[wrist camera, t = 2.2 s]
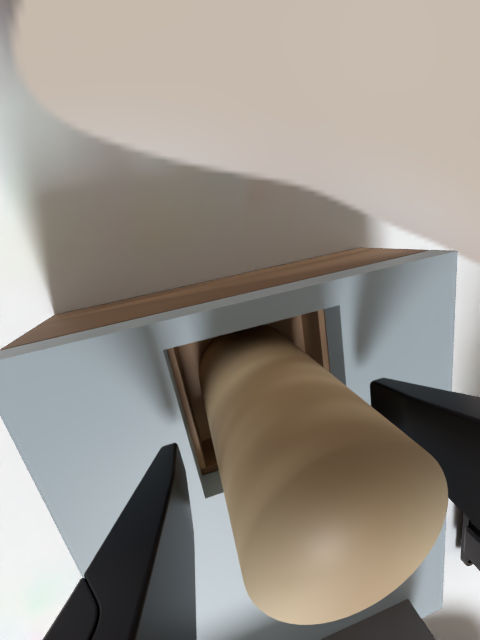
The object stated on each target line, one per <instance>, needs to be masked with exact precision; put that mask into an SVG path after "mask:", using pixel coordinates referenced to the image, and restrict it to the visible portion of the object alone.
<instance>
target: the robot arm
mask: <svg viewBox="0 0 480 640" xmlns="http://www.w3.org/2000/svg"><path fill="white" fill-rule="evenodd" d="M370 400H371V407H373V408H374V409H375V410H376V411H378V412H379V413H380V414H381V415H383V416H384V417H385V418H386V419H388V420H389V421H390V422H391V423H392V424H394V425H395V426H396V427H397V428H399V429H400V430H401V431H402V432H404V433H405V434H406V435H407V436H408V437H410V438H411V439H412V440H413V441H415V442H416V443H417V444H418V445H420V446H421V447H422V448H423V449H424V450H426V451H427V452H428V453H429V454H431V455H432V456H433V458H434V459H435V460H436V461H437V462H438V464H439V465H440V467H441V468H442V470H443V473H444V475H445V478H446V482H447V487H448V498H449V499H450V500H451V501H452V502H453V503H454V504H455V505H456V506H457V507H458V508H459V509H460V510H461V511H462V512H463V513H464V514H463V529H462V544H461V560H462V561H463V562H464V563H465V564H466V565H467V566H470V565H472V564H474V565H475V566H476V567H477V568H478V569H479V570H480V397H475V396H471V395H466V394H461V393H456V392H451V391H446V390H442V389H437V388H432V387H427V386H422V385H418V384H413V383H408V382H403V381H398V380H393V379H389V378H380V379H376V380H373V381H372V382H371V383H370ZM43 640H197V629H196V587H195V544H194V529H193V520H192V513H191V505H190V498H189V491H188V483H187V476H186V470H185V466H184V463H183V460H182V456H181V453H180V450H179V446H178V444H177V443H171V444H168V445H165V446H162V447H161V448H160V450H159V452H158V453H157V455H156V456H155V458H154V460H153V461H152V463H151V465H150V466H149V468H148V470H147V471H146V473H145V475H144V476H143V478H142V479H141V481H140V483H139V484H138V486H137V488H136V489H135V491H134V493H133V494H132V496H131V497H130V499H129V501H128V502H127V504H126V506H125V507H124V509H123V511H122V512H121V514H120V516H119V517H118V519H117V520H116V522H115V524H114V525H113V527H112V529H111V530H110V532H109V534H108V535H107V537H106V539H105V540H104V542H103V543H102V545H101V547H100V548H99V550H98V552H97V553H96V555H95V557H94V558H93V560H92V561H91V563H90V565H89V566H88V568H87V570H86V571H85V573H84V578H81V579H80V581H79V583H78V584H77V586H76V587H75V589H74V591H73V592H72V594H71V596H70V597H69V599H68V601H67V602H66V604H65V605H64V607H63V608H62V610H61V612H60V613H59V615H58V616H57V618H56V619H55V621H54V623H53V624H52V626H51V627H50V629H49V630H48V632H47V634H46V635H45V637H44V638H43Z"/></svg>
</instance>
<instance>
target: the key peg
mask: <svg viewBox="0 0 480 640" xmlns="http://www.w3.org/2000/svg"><path fill="white" fill-rule="evenodd" d="M199 382H200V387H201V391H202V396H203V401H204V405H205V410H206V414H207V419H208V423H209V428H210V432H211V437H212V441H213V446H214V450H215V455H216V459H217V464H218V469H219V473H220V478H221V482H222V487H223V491H224V496H225V500H226V505H227V509H228V514H229V518H230V523H231V527H232V532H233V537H234V541H235V546H236V550H237V555H238V559H239V564H240V568H241V573H242V577H243V582H244V585H245V588H246V591H247V593H248V595H249V597H250V599H251V600H252V602H253V603H254V604H255V605H256V606H257V607H258V608H259V609H260V610H261V611H262V612H264V613H265V614H266V615H268V616H270V617H272V618H274V619H276V620H278V621H282V622H286V623H290V624H298V625H313V624H322V623H327V622H332V621H336V620H339V619H342V618H345V617H348V616H351V615H353V614H356V613H358V612H360V611H362V610H364V609H366V608H368V607H370V606H372V605H373V604H375V603H377V602H378V601H380V600H382V599H383V598H384V597H386V596H387V595H389V594H390V593H391V592H393V591H394V590H395V589H396V588H398V587H399V586H400V585H401V584H402V583H403V582H404V581H405V580H406V579H407V578H408V577H409V576H410V575H412V574H413V572H414V571H415V570H416V569H417V568H418V567H419V565H420V564H421V563H422V562H423V560H424V559H425V558H426V556H427V555H428V554H429V552H430V550H431V549H432V547H433V545H434V544H435V542H436V540H437V538H438V536H439V534H440V532H441V529H442V526H443V523H444V520H445V516H446V512H447V506H448V487H447V482H446V478H445V475H444V473H443V470H442V468H441V467H440V465H439V464H438V462H437V461H436V460H435V459H434V458H433V456H432V455H431V454H429V453H428V452H427V451H426V450H424V449H423V448H422V447H421V446H420V445H418V444H417V443H416V442H415V441H413V440H412V439H411V438H410V437H408V436H407V435H406V434H405V433H404V432H402V431H401V430H400V429H399V428H397V427H396V426H395V425H394V424H392V423H391V422H390V421H389V420H388V419H386V418H385V417H384V416H383V415H381V414H380V413H379V412H378V411H376V410H375V409H374V408H373V407H371V406H370V405H369V404H368V403H367V402H365V401H364V400H363V399H362V398H360V397H359V396H358V395H357V394H355V393H354V392H353V391H352V390H351V389H349V388H348V387H347V386H346V385H344V384H343V383H342V382H341V381H339V380H338V379H337V378H336V377H334V376H333V375H332V374H331V373H330V372H328V371H327V370H326V369H325V368H323V367H322V366H321V365H320V364H318V363H317V362H316V361H315V360H314V359H312V358H311V357H310V356H309V355H307V354H306V353H305V352H304V351H302V350H301V349H300V348H299V347H298V346H296V345H295V344H294V343H293V342H291V341H290V340H289V339H288V338H286V337H285V336H284V335H283V334H281V333H280V332H279V331H277V330H276V329H274V328H272V327H270V326H267V325H259V326H256V327H252V328H248V329H244V330H240V331H236V332H232V333H228V334H224V335H220V336H217V337H216V338H215V339H214V340H213V341H212V342H211V343H210V345H209V346H208V347H207V349H206V351H205V352H204V354H203V357H202V359H201V363H200V367H199Z"/></svg>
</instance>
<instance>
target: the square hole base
mask: <svg viewBox="0 0 480 640" xmlns="http://www.w3.org/2000/svg"><path fill="white" fill-rule="evenodd" d="M425 251H429V250H414V249H383V248H356V249H352V250H347V251H343V252H338V253H334V254H329V255H325V256H320V257H316V258H311V259H306V260H302V261H297V262H293V263H288V264H284V265H279V266H275V267H270V268H266V269H261V270H257V271H252V272H248V273H243V274H238V275H234V276H229V277H225V278H220V279H216V280H211V281H207V282H202V283H198V284H193V285H189V286H184V287H180V288H175V289H171V290H166V291H161V292H157V293H152V294H148V295H143V296H139V297H134V298H130V299H125V300H121V301H116V302H112V303H107V304H103V305H98V306H93V307H89V308H84V309H80V310H75V311H71V312H66V313H62V314H57V315H54V316H52V317H50V318H49V319H47V320H46V321H44V322H43V323H41V324H40V325H38V326H36V327H35V328H33V329H32V330H30V331H29V332H27V333H25V334H24V335H22V336H21V337H19V338H18V339H16V340H14V341H13V342H11V343H10V344H8V345H7V346H5V347H4V348H2V349H0V350H4V349H9V348H13V347H17V346H22V345H26V344H30V343H34V342H39V341H43V340H47V339H52V338H56V337H60V336H65V335H69V334H73V333H77V332H82V331H86V330H90V329H95V328H99V327H103V326H107V325H112V324H116V323H120V322H125V321H129V320H133V319H137V318H142V317H146V316H150V315H155V314H159V313H163V312H167V311H172V310H176V309H180V308H185V307H189V306H193V305H197V304H202V303H206V302H210V301H215V300H219V299H223V298H227V297H232V296H236V295H240V294H245V293H249V292H253V291H257V290H262V289H266V288H270V287H275V286H279V285H283V284H288V283H292V282H296V281H300V280H305V279H309V278H313V277H318V276H322V275H326V274H330V273H335V272H339V271H343V270H348V269H352V268H356V267H360V266H365V265H369V264H373V263H378V262H382V261H386V260H390V259H395V258H399V257H403V256H408V255H412V254H416V253H420V252H425ZM263 325H267V326H270V327H272V328H274V329H276V330H277V331H279V332H280V333H281V334H283V335H284V336H285V337H286V338H288V339H289V340H290V341H291V342H293V343H294V344H295V345H296V346H298V347H299V348H300V349H301V350H302V351H304V352H305V353H306V354H307V355H309V356H310V357H311V358H312V359H314V360H315V361H316V362H317V363H318V364H320V365H321V366H322V367H323V368H325V369H326V370H327V371H328V372H330V361H329V351H328V341H327V331H326V321H325V311H324V309H322V310H318V311H314V312H310V313H306V314H303V315H299V316H295V317H291V318H287V319H283V320H279V321H275V322H271V323H267V324H263ZM216 337H217V336H216ZM216 337H212V338H208V339H205V340H201V341H197V342H193V343H189V344H185V345H181V346H177V347H173V348H169V349H166V350H167V353H168V357H169V360H170V364H171V367H172V371H173V374H174V378H175V382H176V385H177V389H178V392H179V396H180V399H181V403H182V406H183V410H184V413H185V417H186V421H187V424H188V428H189V431H190V435H191V438H192V442H193V445H194V449H195V452H196V456H197V460H198V463H199V467H200V470H201V474H202V476H203V475H206V474H209V473H212V472H215V471H218V470H219V469H218V464H217V459H216V455H215V450H214V446H213V441H212V437H211V432H210V428H209V423H208V419H207V414H206V410H205V405H204V401H203V396H202V391H201V387H200V382H199V367H200V363H201V359H202V357H203V354H204V352H205V351H206V349H207V347H208V346H209V345H210V343H211V342H212V341H213V340H214V339H215V338H216ZM330 373H331V372H330Z"/></svg>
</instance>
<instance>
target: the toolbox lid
mask: <svg viewBox="0 0 480 640" xmlns="http://www.w3.org/2000/svg"><path fill="white" fill-rule="evenodd" d="M456 272H457V251H446V250H429V251H425V252H420V253H416V254H412V255H408V256H403V257H399V258H395V259H390V260H386V261H382V262H378V263H373V264H369V265H365V266H360V267H356V268H352V269H348V270H343V271H339V272H335V273H330V274H326V275H322V276H318V277H313V278H309V279H305V280H300V281H296V282H292V283H288V284H283V285H279V286H275V287H270V288H266V289H262V290H257V291H253V292H249V293H245V294H240V295H236V296H232V297H227V298H223V299H219V300H215V301H210V302H206V303H202V304H197V305H193V306H189V307H185V308H180V309H176V310H172V311H167V312H163V313H159V314H155V315H150V316H146V317H142V318H137V319H133V320H129V321H125V322H120V323H116V324H112V325H107V326H103V327H99V328H95V329H90V330H86V331H82V332H77V333H73V334H69V335H65V336H60V337H56V338H52V339H47V340H43V341H39V342H34V343H30V344H26V345H22V346H17V347H13V348H9V349H4V350H0V416H1V418H2V420H3V422H4V424H5V426H6V428H7V430H8V432H9V433H10V435H11V437H12V439H13V441H14V443H15V445H16V447H17V449H18V451H19V453H20V455H21V457H22V459H23V461H24V463H25V465H26V467H27V469H28V471H29V473H30V475H31V477H32V479H33V481H34V483H35V485H36V487H37V489H38V491H39V493H40V495H41V496H42V498H43V500H44V502H45V504H46V506H47V508H48V510H49V512H50V514H51V516H52V518H53V520H54V522H55V524H56V526H57V528H58V530H59V532H60V534H61V536H62V538H63V540H64V542H65V544H66V546H67V548H68V550H69V552H70V554H71V556H72V558H73V559H74V561H75V563H76V565H77V567H78V569H79V571H80V573H81V575H82V577H83V578H84V573H85V571H86V570H87V568H88V566H89V565H90V563H91V561H92V560H93V558H94V557H95V555H96V553H97V552H98V550H99V548H100V547H101V545H102V543H103V542H104V540H105V539H106V537H107V535H108V534H109V532H110V530H111V529H112V527H113V525H114V524H115V522H116V520H117V519H118V517H119V516H120V514H121V512H122V511H123V509H124V507H125V506H126V504H127V502H128V501H129V499H130V497H131V496H132V494H133V493H134V491H135V489H136V488H137V486H138V484H139V483H140V481H141V479H142V478H143V476H144V475H145V473H146V471H147V470H148V468H149V466H150V465H151V463H152V461H153V460H154V458H155V456H156V455H157V453H158V452H159V450H160V448H161V447H162V446H165V445H168V444H171V443H177V444H178V446H179V450H180V453H181V456H182V460H183V463H184V466H185V470H186V476H187V483H188V491H189V498H190V505H191V513H192V520H193V529H194V544H195V587H196V629H197V640H435V638H434V637H433V635H432V634H431V632H430V631H429V629H428V628H427V626H426V625H425V623H424V622H423V620H422V618H424V617H426V616H428V615H430V614H432V613H434V612H436V611H438V610H440V609H442V601H443V577H444V554H445V530H446V516H445V520H444V523H443V526H442V529H441V532H440V534H439V536H438V538H437V540H436V542H435V544H434V545H433V547H432V549H431V550H430V552H429V554H428V555H427V556H426V558H425V559H424V560H423V562H422V563H421V564H420V565H419V567H418V568H417V569H416V570H415V571H414V572H413V574H412V575H410V576H409V577H408V578H407V579H406V580H405V581H404V582H403V583H402V584H401V585H400V586H399V587H398V588H396V589H395V590H394V591H393V592H391V593H390V594H389V595H387V596H386V597H384V598H383V599H382V600H380V601H378V602H377V603H375V604H373V605H372V606H370V607H368V608H366V609H364V610H362V611H360V612H358V613H356V614H353V615H351V616H348V617H345V618H342V619H339V620H336V621H332V622H327V623H322V624H313V625H298V624H290V623H286V622H282V621H278V620H276V619H274V618H272V617H270V616H268V615H266V614H265V613H264V612H262V611H261V610H260V609H259V608H258V607H257V606H256V605H255V604H254V603H253V602H252V600H251V599H250V597H249V595H248V593H247V591H246V588H245V585H244V582H243V577H242V573H241V568H240V564H239V559H238V555H237V550H236V546H235V541H234V537H233V532H232V527H231V523H230V518H229V514H228V509H227V505H226V500H225V496H224V491H223V487H222V482H221V478H220V473H219V470H218V471H215V472H212V473H209V474H206V475H203V476H202V474H201V470H200V467H199V463H198V460H197V456H196V452H195V449H194V445H193V442H192V438H191V435H190V431H189V428H188V424H187V421H186V417H185V413H184V410H183V406H182V403H181V399H180V396H179V392H178V389H177V385H176V382H175V378H174V374H173V371H172V367H171V364H170V360H169V357H168V353H167V350H166V349H169V348H173V347H177V346H181V345H185V344H189V343H193V342H197V341H201V340H205V339H208V338H212V337H216V336H220V335H224V334H228V333H232V332H236V331H240V330H244V329H248V328H252V327H256V326H259V325H263V324H267V323H271V322H275V321H279V320H283V319H287V318H291V317H295V316H299V315H303V314H306V313H310V312H314V311H318V310H322V309H324V311H325V321H326V331H327V341H328V351H329V361H330V372H331V374H332V375H333V376H334V377H336V378H337V379H338V380H339V381H341V382H342V383H343V384H344V385H346V386H347V387H348V388H349V389H351V390H352V391H353V392H354V393H355V394H357V395H358V396H359V397H360V398H362V399H363V400H364V401H365V402H367V403H368V404H369V405H370V406H371V400H370V383H371V382H372V381H373V380H376V379H380V378H389V379H393V380H398V381H403V382H408V383H413V384H418V385H422V386H427V387H432V388H437V389H442V390H446V391H451V389H452V366H453V342H454V319H455V296H456Z"/></svg>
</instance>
